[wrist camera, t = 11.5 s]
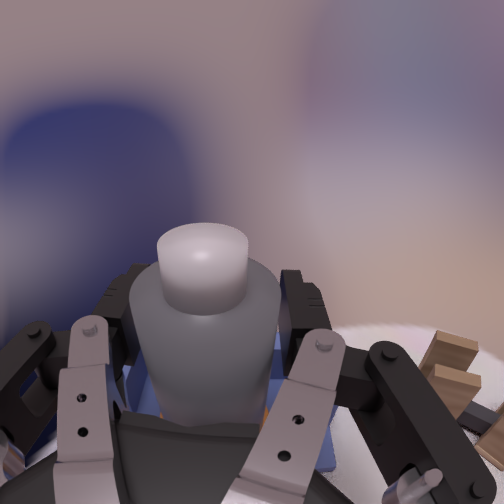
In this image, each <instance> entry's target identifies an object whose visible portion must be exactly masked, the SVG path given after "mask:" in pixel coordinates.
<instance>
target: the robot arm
mask: <svg viewBox="0 0 504 504" xmlns="http://www.w3.org/2000/svg"><path fill="white" fill-rule="evenodd" d="M150 265H151V264H139V263H133V264H132V266H131V267H130V269H129V271H128V272H127V274H126V275H124V274H121V275H120V276H118V277H117V278H115V279H114V280H113V281H112V282H111V284H110V285H109V287H108V288H107V290H106V291H105V293H104V296H102V298H101V299H100V301H99V302H98V304H97V306H96V307H95V309H94V311H93V312H92V314H91V315H90V316H85V317H83V318H81V319H79V320H78V321H76V322H75V323H74V325H73V326H72V328H71V330H67V331H58V332H52V329H51V327H50V325H49V324H48V323H46V322H44V321H35V322H32V323H30V324H28V325H26V326H25V327H24V328H23V329H22V330H21V331H20V332H19V333H18V334H17V335H16V336H15V337H14V338H13V339H12V340H11V341H10V342H9V343H8V344H7V345H6V346H5V347H4V348H3V349H2V350H1V351H0V504H354V503H353V502H352V501H351V500H350V499H348V498H347V497H346V496H345V495H344V494H343V493H341V492H340V491H339V490H338V489H337V488H336V487H335V486H334V485H332V484H331V483H330V482H329V481H328V480H327V479H326V478H325V477H324V476H323V475H321V474H320V473H319V472H318V471H317V470H316V469H315V465H316V462H317V459H318V456H319V453H320V450H321V446H322V443H323V440H324V437H325V433H326V430H327V426H328V423H329V419H330V416H331V412H332V408H333V405H337V406H342V407H347V408H348V409H349V411H350V413H351V415H352V417H353V418H354V420H355V422H356V424H357V426H358V428H359V430H360V432H361V434H362V436H363V438H364V440H365V442H366V444H367V446H368V448H369V450H370V452H371V454H372V456H373V458H374V460H375V462H376V464H377V466H378V468H379V470H380V472H381V474H382V475H383V477H384V479H385V481H386V483H387V485H388V488H387V489H386V491H385V492H384V494H383V497H382V504H492V503H493V501H494V499H495V496H496V492H497V486H496V482H495V479H494V477H493V476H492V474H491V473H490V471H489V469H488V468H487V466H486V465H485V463H484V461H483V460H482V458H481V457H480V455H479V454H478V452H477V451H476V449H475V448H474V446H473V445H472V443H471V442H470V440H469V439H468V437H467V436H466V434H465V433H464V431H463V430H462V428H461V427H460V425H459V424H458V422H457V421H456V420H455V418H454V417H453V415H452V414H451V412H450V411H449V410H448V408H447V407H446V405H445V404H444V402H443V401H442V400H441V398H440V397H439V395H438V394H437V393H436V391H435V390H434V389H433V387H432V386H431V384H430V383H429V382H428V380H427V379H426V378H425V376H424V375H423V374H422V372H421V371H420V370H419V368H418V367H417V366H416V364H415V363H414V362H413V360H412V359H411V358H410V356H409V355H408V354H407V352H406V351H405V350H404V349H403V348H402V347H401V346H399V345H398V344H396V343H393V342H389V341H379V342H376V343H374V344H373V345H372V346H371V347H370V350H369V351H366V350H361V349H356V348H352V347H349V346H346V344H345V341H344V339H343V338H342V336H341V335H339V334H338V333H336V332H334V331H332V328H331V324H330V321H329V318H328V315H327V312H326V308H325V305H324V302H323V300H322V295H321V292H320V290H319V289H318V288H317V287H316V286H315V285H314V284H313V283H303V279H302V275H301V272H300V270H282V271H281V276H280V277H281V278H280V288H281V302H280V310H279V318H278V325H279V336H280V346H281V356H282V366H283V376H288V378H285V379H284V381H283V383H282V385H281V387H280V390H279V392H278V394H277V396H276V399H275V401H274V403H273V405H272V408H271V410H270V412H269V414H268V416H267V418H266V421H265V423H264V425H263V427H262V429H261V431H259V424H257V423H227V422H223V423H217V424H210V425H202V426H194V427H186V426H182V425H179V424H176V423H173V422H171V421H168V420H165V419H162V418H160V417H157V416H155V415H148V414H142V413H136V412H130V410H129V403H128V396H127V389H126V381H125V375H124V372H123V370H122V369H123V367H124V365H126V366H133V367H134V365H135V362H136V359H137V357H138V354H139V351H140V349H141V347H140V343H139V339H138V336H137V332H136V328H135V324H134V320H133V316H132V312H131V308H130V302H129V293H130V289H131V286H132V284H133V282H134V281H135V279H136V278H137V277H138V275H139V274H140V273H141V272H142V271H143V270H145V269H146V268H147V267H149V266H150ZM34 370H35V372H36V373H37V375H38V378H37V379H36V380H35V381H34V383H33V384H32V385H31V386H30V388H29V389H28V390H27V391H26V392H25V394H24V395H23V396H22V397H21V398H20V395H19V390H20V387H21V385H22V384H23V383H24V381H25V380H26V379H27V378H28V377H29V375H30V374H31V373H32V372H33V371H34ZM56 411H57V450H56V451H55V452H53V453H52V454H50V455H49V456H47V457H45V458H44V459H42V460H41V461H39V462H38V463H36V464H35V465H33V466H31V467H30V468H28V469H27V470H26V468H25V466H24V464H25V460H24V457H25V456H26V454H27V453H28V451H29V450H30V448H31V447H32V445H33V444H34V443H35V441H36V439H37V438H38V437H39V435H40V434H41V432H42V431H43V429H44V428H45V427H46V425H47V424H48V422H49V421H50V420H51V418H52V417H53V415H54V414H55V413H56Z"/></svg>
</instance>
